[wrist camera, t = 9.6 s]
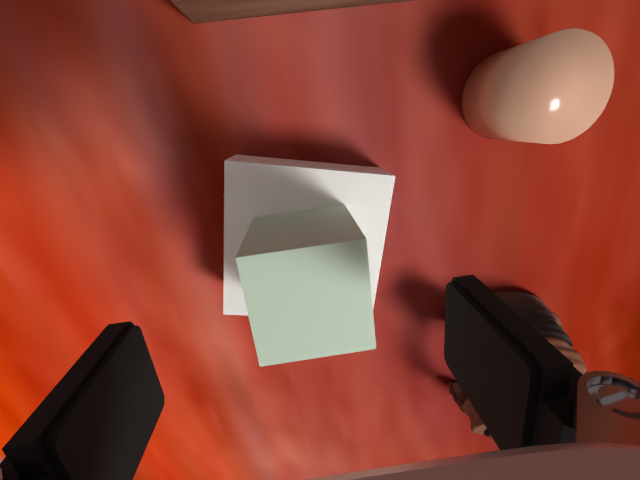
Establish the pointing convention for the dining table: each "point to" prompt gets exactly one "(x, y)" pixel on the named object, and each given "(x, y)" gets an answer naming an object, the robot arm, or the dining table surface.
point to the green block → (307, 285)
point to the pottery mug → (544, 324)
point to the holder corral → (259, 7)
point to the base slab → (299, 205)
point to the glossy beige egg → (540, 89)
